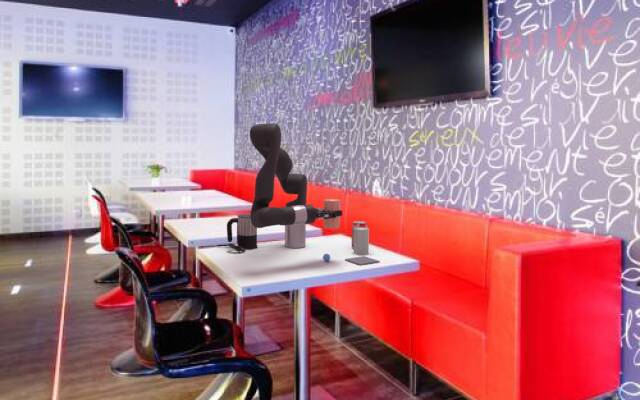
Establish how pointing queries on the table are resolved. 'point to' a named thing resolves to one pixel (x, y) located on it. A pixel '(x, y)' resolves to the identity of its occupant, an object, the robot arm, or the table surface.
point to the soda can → (355, 224)
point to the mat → (362, 260)
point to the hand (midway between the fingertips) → (336, 212)
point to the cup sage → (361, 240)
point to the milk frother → (242, 233)
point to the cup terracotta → (332, 205)
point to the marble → (326, 257)
